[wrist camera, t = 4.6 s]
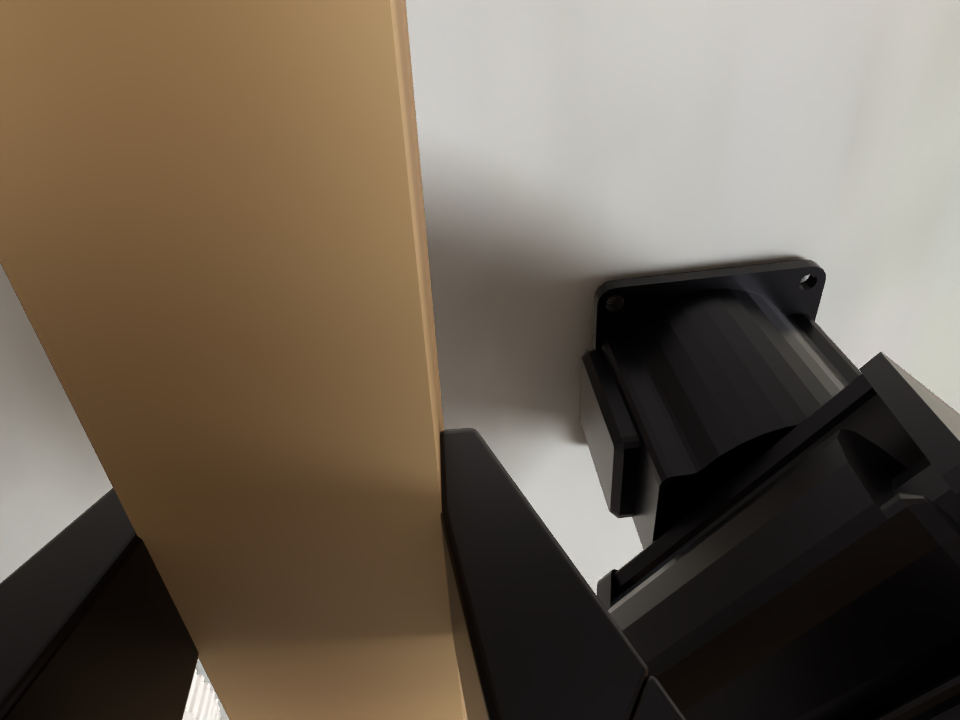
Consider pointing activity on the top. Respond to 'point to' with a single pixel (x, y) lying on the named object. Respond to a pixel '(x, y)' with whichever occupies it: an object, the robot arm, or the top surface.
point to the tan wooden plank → (246, 326)
